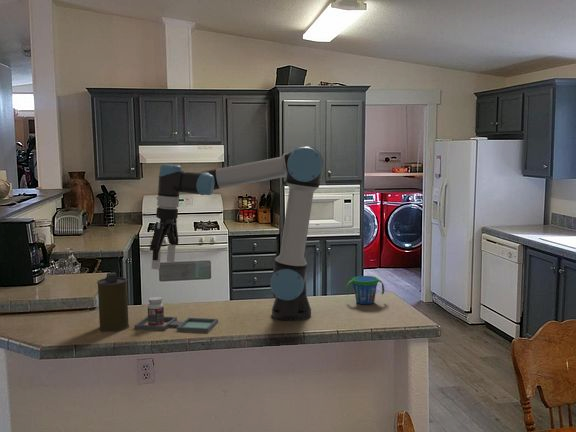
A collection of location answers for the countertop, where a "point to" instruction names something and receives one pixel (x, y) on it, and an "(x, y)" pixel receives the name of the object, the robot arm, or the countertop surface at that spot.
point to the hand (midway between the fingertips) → (163, 265)
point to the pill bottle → (155, 311)
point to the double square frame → (181, 324)
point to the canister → (113, 303)
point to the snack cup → (365, 288)
